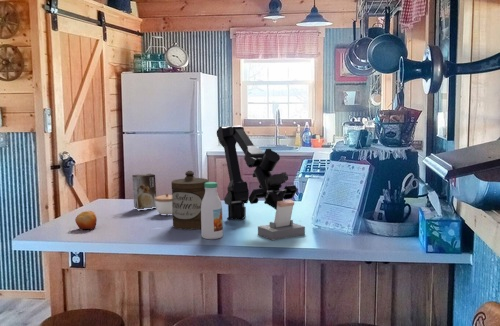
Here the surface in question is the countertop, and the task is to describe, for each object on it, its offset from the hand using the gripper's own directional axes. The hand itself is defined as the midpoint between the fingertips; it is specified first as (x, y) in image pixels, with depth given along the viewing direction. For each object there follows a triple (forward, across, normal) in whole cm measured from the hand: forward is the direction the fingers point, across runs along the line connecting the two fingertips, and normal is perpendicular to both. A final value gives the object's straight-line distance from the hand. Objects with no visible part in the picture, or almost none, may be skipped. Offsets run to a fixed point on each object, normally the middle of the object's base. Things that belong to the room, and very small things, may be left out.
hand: (282, 212), depth 196 cm
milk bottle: (-3, -23, +15) cm, 27 cm away
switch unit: (+5, 0, +7) cm, 8 cm away
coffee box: (-48, -26, +59) cm, 81 cm away
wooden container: (-18, -21, +30) cm, 40 cm away
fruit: (-31, -58, +42) cm, 78 cm away
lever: (+3, 0, +4) cm, 6 cm away
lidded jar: (-36, -21, +48) cm, 63 cm away
